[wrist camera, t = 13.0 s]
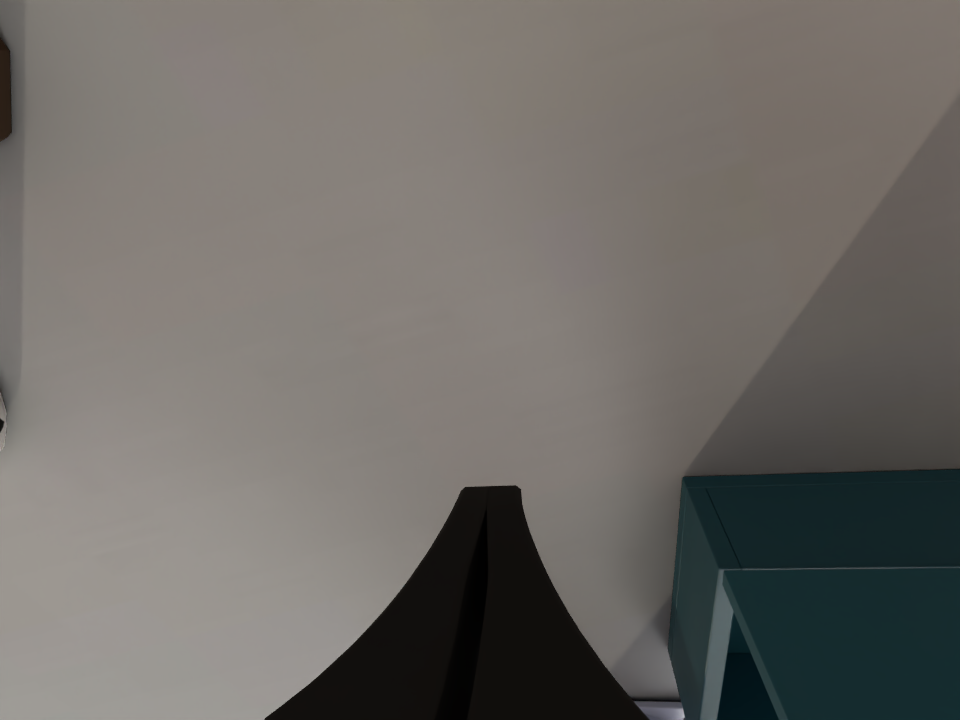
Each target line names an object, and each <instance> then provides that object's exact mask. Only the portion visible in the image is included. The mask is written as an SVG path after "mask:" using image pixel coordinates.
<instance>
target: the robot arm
mask: <svg viewBox="0 0 960 720" xmlns="http://www.w3.org/2000/svg"><path fill="white" fill-rule="evenodd" d="M265 720H686V719H685V715H684V711H683V707H682V703H681V702H654V701H633V700H632V699H631V698H630V697H629V695H628V694H627V693H626V692H625V691H624V690H623V688H622V687H621V686H620V685H619V683H618V682H617V681H616V680H615V678H614V677H613V676H612V675H611V673H610V672H609V671H608V669H607V668H606V667H605V666H604V664H603V663H602V661H601V660H600V659H599V657H598V656H597V654H596V653H595V652H594V650H593V649H592V647H591V646H590V644H589V643H588V642H587V640H586V639H585V637H584V636H583V635H582V633H581V632H580V630H579V629H578V627H577V625H576V624H575V622H574V621H573V619H572V617H571V616H570V614H569V613H568V611H567V609H566V607H565V606H564V604H563V602H562V600H561V599H560V597H559V595H558V593H557V591H556V590H555V588H554V586H553V584H552V582H551V580H550V578H549V576H548V574H547V572H546V569H545V567H544V565H543V563H542V561H541V559H540V556H539V554H538V552H537V549H536V546H535V544H534V541H533V539H532V536H531V534H530V531H529V528H528V525H527V521H526V518H525V515H524V510H523V506H522V497H521V489H520V488H519V487H517V486H516V485H515V486H483V487H465V488H464V489H463V490H462V491H461V492H460V494H459V497H458V499H457V501H456V503H455V505H454V507H453V509H452V511H451V513H450V515H449V517H448V519H447V520H446V522H445V524H444V526H443V528H442V529H441V531H440V533H439V534H438V536H437V538H436V539H435V541H434V543H433V544H432V546H431V548H430V549H429V551H428V552H427V554H426V555H425V557H424V558H423V560H422V561H421V563H420V564H419V566H418V567H417V568H416V570H415V571H414V573H413V574H412V576H411V577H410V579H409V580H408V581H407V583H406V584H405V585H404V587H403V588H402V589H401V590H400V592H399V593H398V594H397V596H396V597H395V598H394V599H393V600H392V602H391V603H390V604H389V605H388V606H387V608H386V609H385V610H384V611H383V612H382V614H381V615H380V616H379V617H378V618H377V619H376V620H375V621H374V622H373V623H372V625H371V626H370V627H369V628H368V629H367V630H366V631H365V632H364V633H363V634H362V635H361V636H360V637H359V638H358V639H357V641H356V642H355V643H354V644H353V645H352V646H351V647H350V648H348V649H347V650H346V651H345V652H344V653H343V654H342V655H341V656H340V657H339V658H338V659H337V660H335V661H334V662H333V663H332V664H331V665H330V666H329V667H328V668H327V669H326V670H325V671H324V672H322V673H321V674H320V675H319V676H318V677H317V678H316V679H315V680H313V681H312V682H311V683H310V684H309V685H308V686H306V687H305V688H304V689H302V690H301V691H300V692H299V693H297V694H296V695H295V696H293V697H292V698H291V699H290V700H288V701H287V702H286V703H285V704H283V705H282V706H281V707H279V708H278V709H277V710H276V711H274V712H273V713H271V714H270V715H269V716H267V717H266V718H265Z"/></svg>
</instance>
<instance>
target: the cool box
mask: <svg viewBox="0 0 960 720" xmlns="http://www.w3.org/2000/svg"><path fill="white" fill-rule="evenodd" d="M893 568H960V469H954V470H918V471H881V472H844V473H808V474H771V475H735V476H698V477H683V478H682V488H681V500H680V512H679V524H678V535H677V547H676V559H675V571H674V582H673V594H672V606H671V618H670V629H669V641H668V652H669V656H670V660H671V664H672V668H673V671H674V675H675V679H676V683H677V687H678V691H679V695H680V699H681V703H682V707H683V711H684V715H685V719H686V720H779V719H778V716H777V714H776V711H775V709H774V707H773V704H772V702H771V700H770V697H769V695H768V692H767V690H766V688H765V685H764V683H763V680H762V678H761V676H760V673H759V671H758V669H757V666H756V664H755V661H754V659H753V657H752V654H751V652H750V649H749V647H748V645H747V642H746V640H745V638H744V635H743V633H742V630H741V628H740V626H739V623H738V621H737V618H736V616H735V614H734V611H733V609H732V607H731V604H730V602H729V599H728V597H727V595H726V592H725V590H724V588H723V585H722V582H723V573H724V570H797V569H893Z"/></svg>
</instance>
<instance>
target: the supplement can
mask: <svg viewBox="0 0 960 720" xmlns="http://www.w3.org/2000/svg"><path fill="white" fill-rule="evenodd" d="M6 414H7V412H6V409H5V405H4V402H3V399H2V395H1V392H0V451H1V450H2V449H3V448H4V443H5V436H6V429H7V423H6Z"/></svg>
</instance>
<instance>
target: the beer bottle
mask: <svg viewBox="0 0 960 720" xmlns="http://www.w3.org/2000/svg"><path fill="white" fill-rule="evenodd" d="M10 133H11V81H10V51H9V49H8V48H7V47H6V45H5V44H4V42H3V41H2V40H1V38H0V141H2V140H4V139H5V138H7V137H8V136H9V135H10Z"/></svg>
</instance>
